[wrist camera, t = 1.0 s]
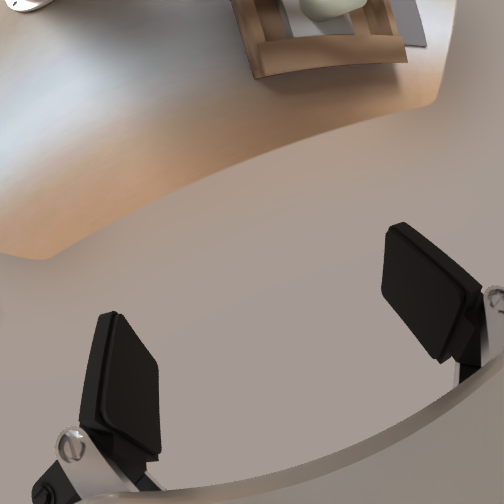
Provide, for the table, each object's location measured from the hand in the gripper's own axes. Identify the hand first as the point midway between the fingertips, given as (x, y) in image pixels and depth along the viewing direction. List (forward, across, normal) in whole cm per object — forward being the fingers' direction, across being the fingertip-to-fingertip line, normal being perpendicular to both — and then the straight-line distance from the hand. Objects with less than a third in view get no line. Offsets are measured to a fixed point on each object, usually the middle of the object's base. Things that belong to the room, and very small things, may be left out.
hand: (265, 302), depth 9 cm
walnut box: (+26, -16, -16) cm, 34 cm away
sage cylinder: (+24, -16, -16) cm, 32 cm away
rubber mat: (+26, -31, -17) cm, 44 cm away
